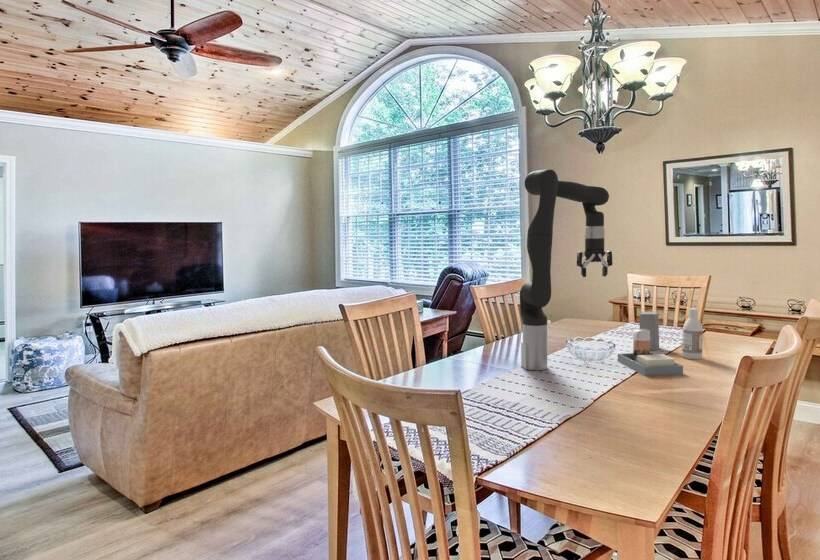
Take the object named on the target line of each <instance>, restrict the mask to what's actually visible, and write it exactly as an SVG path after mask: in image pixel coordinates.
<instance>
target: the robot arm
mask: <svg viewBox="0 0 820 560" xmlns="http://www.w3.org/2000/svg"><path fill="white" fill-rule="evenodd" d="M558 177H559V176H558V174H557V172H556V171H555V170H554V169H550V168H549V169H541V170H534V171H531V172H530V173H528V174H527V175H526V177H525V178H524V188H525V190H526V192H527V193H529V194H530V195H533V196H539V201H538V202H539V203H538V208H537V211H536V213H535V215H534V216H533V218H532V220H531V221H530V224H529V225H528V230H527V234H526V235H527V237H526V238H527V239H526V248H527V249H526V250H527V254H528V258H529V260H530V263H531V264H530V265H531V267H532V268H531V269H532V271H531V272H532V275H531V277H532V278H531V281H527V282H525V283H524V284H523V285H522V286H521V288H520V291H519V309H520V316H521V319H522V341H521V342H520V358H521V359H520V366H521V367H522V368H523V369H524V370H527V371H544V370H546V369H547V368H548V317H547V314H545V313H544V311H543V308H544V307H546V306H547V305H548V304H549V302H550V301H551V299H552V298H551V297H552V279H551V278H552V277H551V275H552V274H551V268H552V267H551V263H552V248H553V235H554V230H553V229H554V216H555V208H556V201H557V198H562V199H566V200H570V201H571V202H572V201H573V202H577V203H582V204H581V205H582V207H583V210H584V211H583V212H584V214H585V229H584V230H585V231H584V251H577V254H576V267H579V268H580V275H581V277H583V278H586V277H587V266H588V265H589V264H590V263H599V264H600V265H601V266H602V269H601V271H602V274H601V276H602V277H607V276H608V269H609V267H610V266H613V264H614V263H613V251H611V250H607V251H605V214H604V213H603V211H598V210H597V209H596V207H597V206H604V205H605V204H606V203H608V201H609V200H610V194H609V192H608V190H607V189H606V188H604V187H601V186H594V185H593V186H591V185H586V184H584V183H583V184H582V183H580V182H574V181H566V180H559V178H558ZM584 256H585V258H584V260H583V257H584ZM604 257H606V260H605V258H604Z"/></svg>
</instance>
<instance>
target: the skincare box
mask: <svg viewBox="0 0 820 560" xmlns="http://www.w3.org/2000/svg"><path fill="white" fill-rule="evenodd" d="M638 317H639V321H638V322H639V329H647V330H650V351H654V350H655V351H657V350H658V349H659V348H660V331H659V330H660V329H659V328H660V325H659V324H660V323H659V322H660V321H659V312H655V311H651V312H650V311H643V312H641V313H639V316H638Z"/></svg>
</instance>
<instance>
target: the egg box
mask: <svg viewBox="0 0 820 560" xmlns="http://www.w3.org/2000/svg"><path fill="white" fill-rule="evenodd" d="M674 362H675V358H673V357H670V356H668V355H666V354H664V353H662V354H661V353H660V354H657V355H637V363H639V364H641V365H643V366H645V367H651V366H673V365H674Z"/></svg>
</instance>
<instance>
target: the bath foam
mask: <svg viewBox="0 0 820 560" xmlns="http://www.w3.org/2000/svg"><path fill="white" fill-rule="evenodd" d="M698 310H699V309H698V308H696V307H695V308H694V307H691V308H689V310H688V318H687V320H685V322H684V325H683V328H682V350H681V352H682V358H684V359H687V360H696V361H697V360H701V359H702V358H703V341H704V340H703V336H704V333H703V332H704V328H703V325H702V323H701V321H700V320H699V318H698V316H699V315H698V314H699V313H698Z"/></svg>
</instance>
